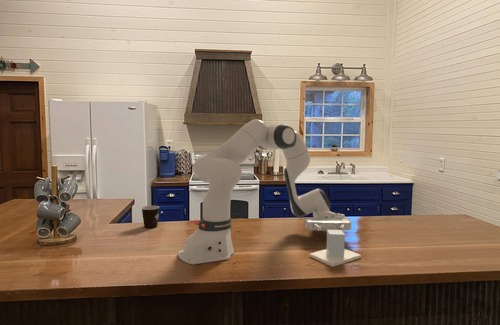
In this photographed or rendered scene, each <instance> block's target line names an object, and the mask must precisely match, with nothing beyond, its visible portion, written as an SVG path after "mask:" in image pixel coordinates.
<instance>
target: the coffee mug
mask: <svg viewBox="0 0 500 325" xmlns="http://www.w3.org/2000/svg"><path fill="white" fill-rule="evenodd" d="M159 212H160V206H158V205H145V206H143V207H141V213H142V220H143V227H144V229H148V230H150V229H156V228H157V227H158V225H159V224H158V223H159V215H160V213H159Z"/></svg>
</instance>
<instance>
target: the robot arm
mask: <svg viewBox="0 0 500 325" xmlns="http://www.w3.org/2000/svg"><path fill="white" fill-rule="evenodd" d="M258 148H259V149H260V150H265V151H266V150H272V151H273V150H274V151H275V150H276V151H277V150H278V151H279V150H281V151H282V154H283V155H284V159H285V161H286V167H285V168H284V170H283V174H284V179H285V184H286V185H285V186H286V190H287V194H288V197H289V204H290V205H289V206H290V209H291V212H292V214H293V215H294V216H295V217H298V218H301V219H302V218H304V217H305V216H307V215H309V214H312V216H313V217H306V218H305V219H304V220H303V223H304V224H305V225H304V226H305V227H304V228H305V229H306V230H316V231H317V232H321V231H324V232H325V231H326V232H327V230H342V231H343V232H344V231H351V230H352V221H351V220H350V219H349V218H348V217H346V216H345V214H343V213H337V212H333V211H331V210H330V209H331V202H330V199H329V196H328V195H327V194H326V192H325V191H324V190H322V189H320V188H316V189H313V190H310V191H309V192H308V191H307V193H304V194H301V195H298V194H297V188H296V180H297V179H298V177H299V176H300V175H301V174H303V172H305V171H306V170H307V168H308V167H309V165H310V164H311V155H310V151H309V150H308V147H307V146H306V143H305V141H304V139H303V138H302V136H301V134H300V133H299V132H298V131H296V130H295V129H294V128H293V127H292V126H291V125H289V124H284V123H283V124H272V125H267V124H266V123H265V122H264V121H263V120H260V119H257V118H253V119H252V120H250V121H248V122H247V123H245V124H244V125H242V126H241V127H240V128H239V129H238V130H237V131H236V132H235V133H234V134H232V136H231V137H230V138H229V139H227V140H226V141H225V142H224V143H223V144H221V145H220V146H217V147H216V148H215V149H213V150H212V151H211V152H209V153H207V154H205V155H204V156H202V157H199V158H197V159H196V160H195V161H194V163H193V167H192V171H193V174H194V176H195V177H196V178H197V179H198V180H200V181H202V182H203V183H207V184H208V190H207V193H206V195H205V196H204V197H203V198H202V218H201V219H200V220H199V219H194V220H193V224H194V225H196V226H198V227H197V229H196V230H195V231H193V232H192V234H190V235H189V236H188V237H186V239H185V241H184V245H183V249H182V250H178V252H177V257H178V258H179V259H180V260H181V261H182V262H184V263H186V264H189V265H198V264H205V263H212V262H213V263H214V262H217V261H225V260H230V259H231V256H232V255H233V254H234V253H235V250H234V246H233V242H232V236H231V235H232V234H231V230H232V217H231V200H232V199H231V198H232V195H233V193H234V192H233V191H234V188H235V187H236V186H237V184H239V182H240V181H241V178H242V175H243V171H242V167H241V165H240V164H243V163H244V162H246V161H247V160H248V159H249V157H250V156H251V155H252V154H253V153H254V152H255V151H256V150H257V149H258Z"/></svg>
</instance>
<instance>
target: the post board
mask: <svg viewBox="0 0 500 325" xmlns="http://www.w3.org/2000/svg"><path fill="white" fill-rule="evenodd" d="M326 249H327V248H326ZM326 249H322V250H317V251H314V252H310V253H309V257H310V258H312V259H314V260H317V261H319V262H321V263H323V264H325V265H327V266H330V267H336V266H340V265H343V264H346V263H349V262H352V261H356V260H358V259H361V258H362V254H359V253H357V252H354V251H352V250H350V249H346V248H344V257H329V256H328V254H327V252H326Z"/></svg>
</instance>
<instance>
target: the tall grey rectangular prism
mask: <svg viewBox="0 0 500 325" xmlns="http://www.w3.org/2000/svg"><path fill="white" fill-rule="evenodd" d="M345 238H346V234H345V233H344V230H343V231H342V230H327V231H326V252H327V254H328V256H329V257H344V249H345V245H346V244H345V242H346V240H345Z"/></svg>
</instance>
